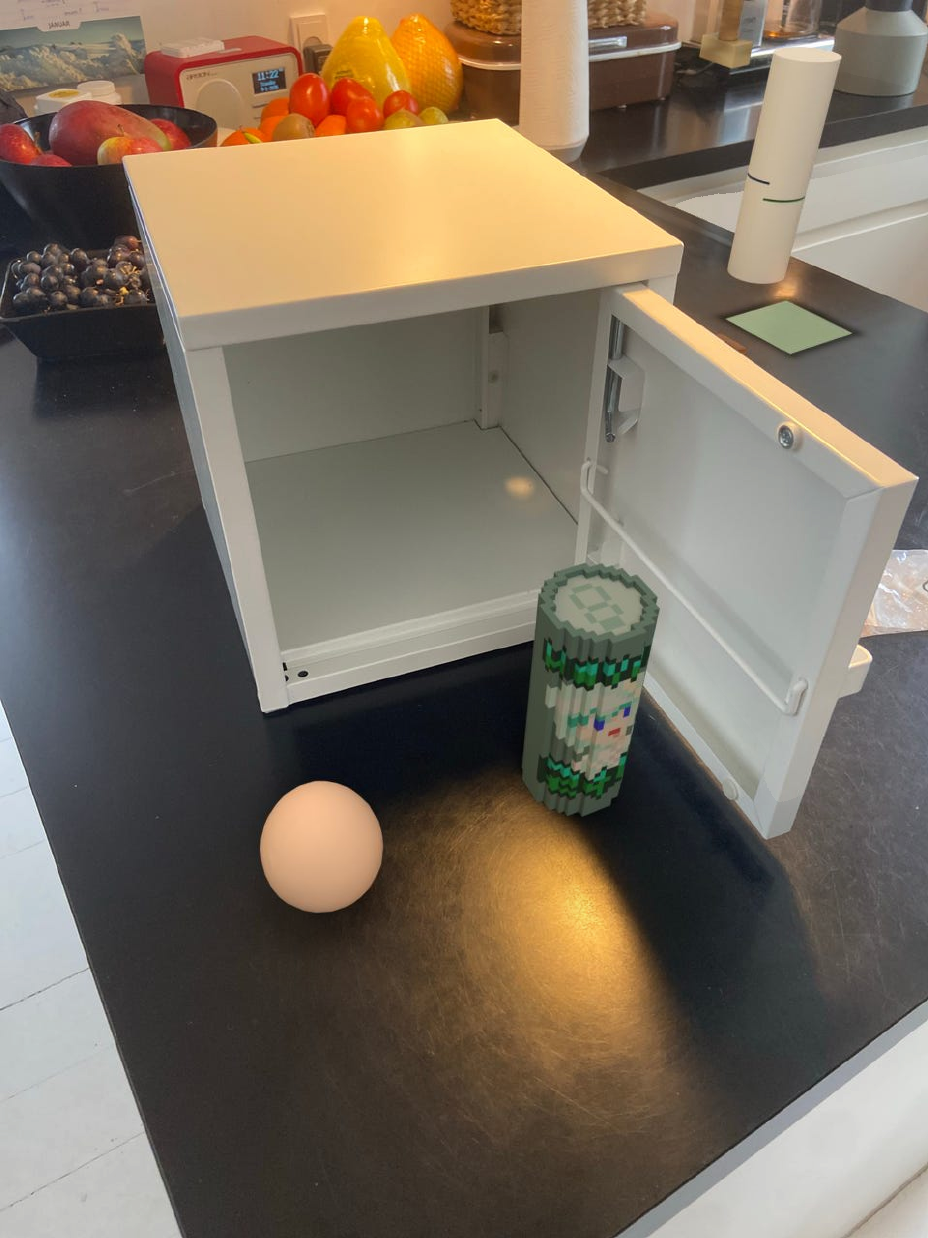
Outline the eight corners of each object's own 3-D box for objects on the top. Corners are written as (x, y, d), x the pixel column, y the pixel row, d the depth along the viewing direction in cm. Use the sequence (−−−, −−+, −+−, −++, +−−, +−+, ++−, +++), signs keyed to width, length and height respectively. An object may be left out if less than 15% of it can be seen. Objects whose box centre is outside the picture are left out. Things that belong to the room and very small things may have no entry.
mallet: (699, 56, 117) (717, -69, 108) (716, 53, 118) (736, -72, 109) (731, 68, 114) (753, -61, 104) (749, 64, 115) (773, -64, 105)
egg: (406, 900, 52) (402, 819, 46) (299, 959, 49) (281, 880, 44) (353, 817, 56) (343, 733, 51) (251, 866, 53) (229, 784, 48)
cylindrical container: (745, 264, 120) (795, 43, 103) (793, 281, 116) (853, 55, 99) (714, 279, 116) (760, 53, 99) (763, 297, 112) (820, 65, 95)
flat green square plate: (783, 309, 110) (786, 300, 109) (849, 342, 104) (852, 332, 103) (723, 328, 106) (725, 318, 105) (787, 363, 100) (790, 353, 99)
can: (553, 828, 56) (578, 655, 45) (507, 756, 60) (521, 581, 49) (637, 794, 58) (679, 620, 47) (587, 726, 62) (616, 553, 51)
